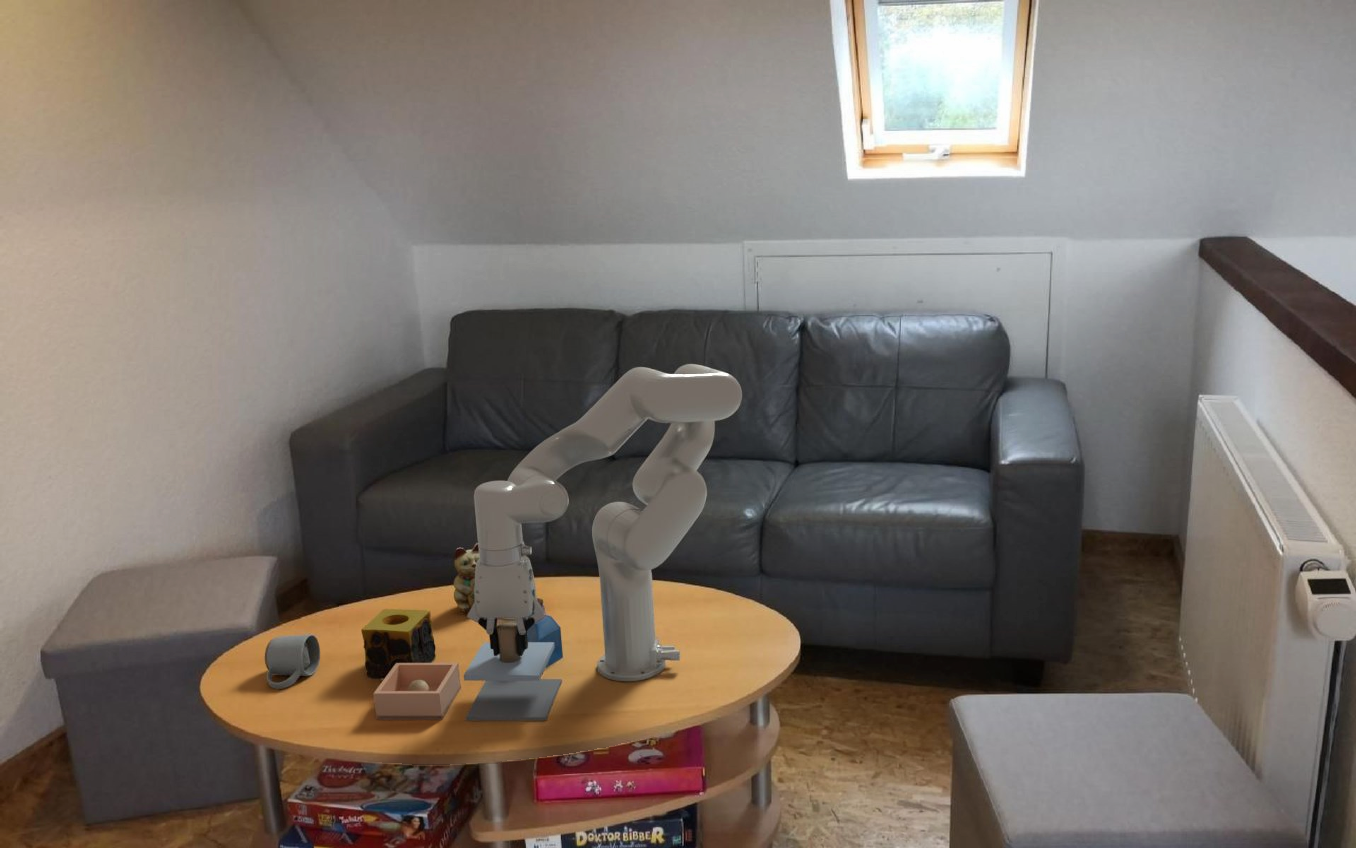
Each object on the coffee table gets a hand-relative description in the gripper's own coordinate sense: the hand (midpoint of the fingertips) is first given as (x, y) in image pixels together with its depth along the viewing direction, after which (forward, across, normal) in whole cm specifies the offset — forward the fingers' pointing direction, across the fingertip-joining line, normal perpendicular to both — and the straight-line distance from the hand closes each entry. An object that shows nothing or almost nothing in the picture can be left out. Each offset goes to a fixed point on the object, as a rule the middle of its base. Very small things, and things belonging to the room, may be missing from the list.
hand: (509, 651), depth 196 cm
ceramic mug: (+10, +45, -10) cm, 47 cm away
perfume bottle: (+10, -1, -16) cm, 19 cm away
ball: (+7, +17, +1) cm, 18 cm away
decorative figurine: (+10, +18, -41) cm, 46 cm away
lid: (+2, 0, 0) cm, 2 cm away
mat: (+9, 0, 0) cm, 9 cm away
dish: (+10, +17, +1) cm, 19 cm away
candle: (+10, +25, -13) cm, 30 cm away
